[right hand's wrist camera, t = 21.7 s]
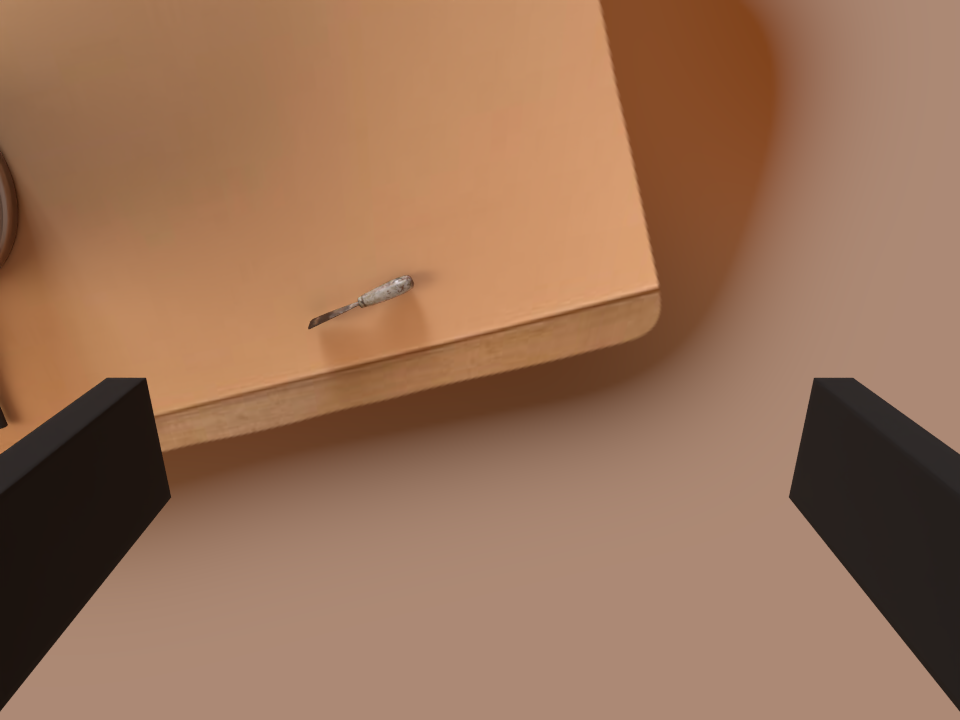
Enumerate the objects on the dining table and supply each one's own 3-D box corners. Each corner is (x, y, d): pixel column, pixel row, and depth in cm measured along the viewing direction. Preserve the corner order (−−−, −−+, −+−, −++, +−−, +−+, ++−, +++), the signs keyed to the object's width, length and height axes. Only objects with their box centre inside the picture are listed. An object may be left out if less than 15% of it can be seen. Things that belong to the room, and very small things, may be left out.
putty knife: (416, 284, 44) (414, 290, 43) (316, 329, 45) (310, 337, 44) (409, 271, 44) (407, 277, 42) (309, 316, 45) (303, 324, 44)
